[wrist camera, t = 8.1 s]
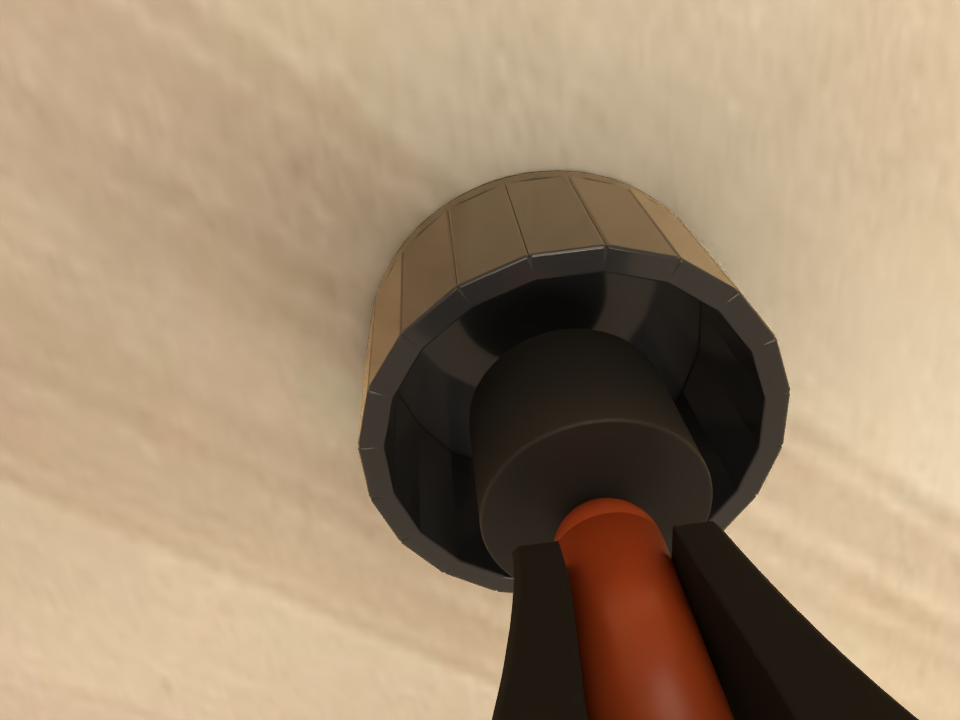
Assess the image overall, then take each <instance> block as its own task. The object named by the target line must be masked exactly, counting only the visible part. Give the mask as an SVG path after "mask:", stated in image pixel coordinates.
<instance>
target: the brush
mask: <svg viewBox="0 0 960 720" xmlns="http://www.w3.org/2000/svg"><path fill="white" fill-rule="evenodd" d="M469 428H470V437H471V447H472V456H473V465H474V475H475V484H476V494H477V503H478V513H479V522H480V529H481V534H482V538H483V541H484V543H485V546H486V548H487V550H488V551H489V553H490V555H491V556H492V558H493V559H494V560H495V561H496V563H497V564H498V565H499V566H500V567H501V568H502V569H503V570H504V571H505V572H507V573H508V574H509V575H510V576H512V577H513V578H514V567H513V558H512V552H513V551H514V550H515V549H516V548H517V547H518V546H524V545H531V544H539V543H547V542H554V541H559V544H560V547H561V551H562V554H563V557H564V561H565V564H566V568H567V571H568V575H569V579H570V585H571V592H572V600H573V608H574V616H575V624H576V632H577V640H578V648H579V656H580V664H581V672H582V681H583V689H584V697H585V705H586V710H587V716H588V720H735V719H734V717H733V714H732V712H731V709H730V707H729V704H728V701H727V699H726V696H725V694H724V691H723V689H722V686H721V684H720V681H719V678H718V676H717V673H716V671H715V668H714V666H713V663H712V661H711V658H710V655H709V653H708V650H707V648H706V645H705V643H704V640H703V638H702V635H701V632H700V630H699V627H698V625H697V622H696V620H695V617H694V615H693V612H692V610H691V607H690V605H689V602H688V600H687V597H686V595H685V592H684V589H683V587H682V584H681V582H680V579H679V577H678V574H677V572H676V569H675V566H674V564H673V561H672V559H671V556H672V533H673V526H677V525H685V524H693V523H700V522H707V520H708V517H709V514H710V511H711V505H712V482H711V476H710V473H709V471H708V468H707V465H706V463H705V461H704V459H703V457H702V455H701V454H700V452H699V450H698V448H697V446H696V444H695V442H694V440H693V438H692V436H691V434H690V432H689V430H688V428H687V427H686V425H685V423H684V421H683V419H682V417H681V415H680V413H679V411H678V409H677V407H676V405H675V403H674V401H673V399H672V398H671V396H670V394H669V392H668V390H667V388H666V386H665V384H664V382H663V380H662V378H661V376H660V374H659V372H658V371H657V369H656V367H655V366H654V364H653V363H652V361H651V360H650V359H649V358H648V357H647V356H646V354H644V353H643V352H642V351H641V350H640V349H639V348H638V347H636V346H635V345H633V344H631V343H630V342H628V341H627V340H624V339H622V338H620V337H618V336H616V335H612V334H609V333H606V332H603V331H597V330H591V329H564V330H558V331H552V332H548V333H544V334H541V335H538V336H535V337H533V338H530V339H528V340H526V341H523V342H522V343H520V344H518V345H517V346H515V347H513V348H511V349H510V350H509V351H507V352H506V353H505V354H503V355H502V356H501V357H500V358H499V359H498V360H497V361H496V362H495V363H493V364H492V366H491V367H490V368H489V369H488V371H487V372H486V373H485V374H484V376H483V377H482V379H481V381H480V382H479V384H478V385H477V388H476V390H475V392H474V395H473V398H472V401H471V405H470V412H469Z"/></svg>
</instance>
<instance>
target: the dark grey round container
mask: <svg viewBox="0 0 960 720" xmlns="http://www.w3.org/2000/svg"><path fill="white" fill-rule="evenodd" d="M564 329H591V330H597V331H603V332H606V333H609V334H612V335H616V336H618V337H620V338H622V339H624V340H627V341H628V342H630V343H631V344H633V345H635V346H636V347H638V348H639V349H640V350H641V351H642V352H643V353H644V354H646V356H647V357H648V358H649V359H650V360H651V361H652V363H653V364H654V366H655V367H656V369H657V371H658V372H659V374H660V376H661V378H662V380H663V382H664V384H665V386H666V388H667V390H668V392H669V394H670V396H671V398H672V399H673V401H674V403H675V405H676V407H677V409H678V411H679V413H680V415H681V417H682V419H683V421H684V423H685V425H686V427H687V428H688V430H689V432H690V434H691V436H692V438H693V440H694V442H695V444H696V446H697V448H698V450H699V452H700V454H701V455H702V457H703V459H704V461H705V463H706V465H707V468H708V471H709V473H710V476H711V482H712V505H711V511H710V514H709V517H708V520H707V522H708V521H713V522H715V523H716V524H717V525H719V526H720V527H721V529H722V530H723V531H724V530H725V529H726V528H727V527H728V526H729V525H730V524H731V522H732V521H733V520H734V519H735V518H736V517H737V516H738V515H739V514H740V513H741V512H742V511H743V510H744V509H745V508H746V507H747V506H748V505H749V504H750V503H751V501H752V500H753V499H754V498H755V497H756V495H757V494H758V493H759V491H760V489H761V487H762V485H763V483H764V481H765V479H766V477H767V475H768V474H769V472H770V470H771V468H772V466H773V464H774V462H775V460H776V458H777V456H778V454H779V452H780V450H781V448H782V446H781V445H782V444H783V440H784V433H785V426H786V418H787V411H788V404H789V396H790V393H789V391H790V387H789V384H788V380H787V376H786V372H785V368H784V365H783V361H782V357H781V353H780V349H779V346H778V342H777V339H776V338H775V335H774V334H773V332H772V331H771V330H770V328H769V327H768V326H767V325H766V323H765V322H764V321H763V320H762V318H761V317H760V316H759V315H758V313H757V312H756V311H755V310H754V308H753V307H752V306H751V305H750V303H749V302H748V301H747V300H746V298H745V297H744V296H743V295H742V293H741V292H740V291H739V290H738V288H737V287H736V286H735V285H734V284H733V282H732V281H731V280H730V279H729V278H728V277H727V275H726V274H725V273H724V272H723V271H722V269H721V268H720V267H719V266H718V265H717V263H716V262H715V261H714V260H713V259H712V257H711V256H710V255H709V254H708V253H707V251H706V250H705V249H704V248H703V247H702V246H701V244H700V243H699V242H698V241H697V240H696V238H695V237H694V236H693V235H692V234H691V232H690V231H689V230H688V229H687V228H686V226H685V225H684V224H683V223H682V222H681V221H680V219H679V218H678V217H676V216H675V215H674V214H673V213H671V212H670V211H669V210H668V209H667V208H665V207H664V206H663V205H661V204H660V203H659V202H657V201H656V200H655V199H653V198H652V197H651V196H649V195H647V194H645V193H643V192H641V191H639V190H637V189H636V188H634V187H632V186H630V185H627V184H624V183H622V182H619V181H616V180H613V179H610V178H608V177H603V176H598V175H593V174H588V173H584V172H570V171H544V172H531V173H526V174H521V175H516V176H510V177H506V178H503V179H500V180H497V181H494V182H491V183H488V184H485V185H482V186H480V187H478V188H476V189H474V190H472V191H469V192H467V193H465V194H463V195H461V196H459V197H458V198H456V199H455V200H453V201H451V202H450V203H448V204H447V205H445V206H444V207H442V208H440V209H439V210H438V211H437V212H435V213H434V214H433V215H432V216H431V217H429V218H428V219H427V220H426V221H425V222H423V223H422V224H421V225H420V226H419V227H418V228H417V229H416V230H415V232H414V233H413V234H412V235H411V236H410V237H409V238H408V239H407V240H406V241H405V242H404V244H403V245H402V247H401V248H400V250H399V251H398V253H397V254H396V255H395V257H394V258H393V260H392V261H391V263H390V265H389V267H388V269H387V271H386V273H385V275H384V277H383V279H382V281H381V284H380V287H379V290H378V293H377V296H376V299H375V302H374V307H373V313H372V319H371V326H370V334H369V340H368V346H367V356H366V366H365V376H364V387H363V397H362V407H361V418H360V428H359V438H358V445H359V446H358V450H359V454H360V458H361V463H362V467H363V471H364V475H365V480H366V484H367V488H368V492H369V496H370V498H371V501H372V502H373V504H374V505H375V506H376V508H377V509H378V511H379V512H380V513H381V515H382V516H383V518H384V519H385V521H386V522H387V523H388V525H389V526H390V528H391V529H392V531H393V532H394V533H395V535H396V536H397V538H398V539H399V540H400V541H401V542H402V544H404V545H405V546H406V547H408V548H409V549H411V550H412V551H413V552H415V553H416V554H418V555H419V556H420V557H422V558H423V559H425V560H426V561H427V562H429V563H430V564H432V565H433V566H434V567H436V568H437V569H439V570H440V571H441V572H445V573H446V574H448V575H451V576H453V577H456V578H459V579H462V580H465V581H468V582H471V583H474V584H476V585H479V586H482V587H485V588H488V589H491V590H494V591H496V590H497V591H498V592H506V593H513V588H514V578H513V577H512V576H510V575H509V574H508V573H507V572H505V571H504V570H503V569H502V568H501V567H500V566H499V565H498V564H497V563H496V561H495V560H494V559H493V558H492V556H491V555H490V553H489V551H488V550H487V548H486V546H485V543H484V541H483V538H482V534H481V529H480V522H479V513H478V503H477V494H476V484H475V475H474V465H473V456H472V447H471V437H470V428H469V412H470V405H471V401H472V398H473V395H474V392H475V390H476V388H477V385H478V384H479V382H480V381H481V379H482V377H483V376H484V374H485V373H486V372H487V371H488V369H489V368H490V367H491V366H492V364H493V363H495V362H496V361H497V360H498V359H499V358H500V357H501V356H502V355H503V354H505V353H506V352H507V351H509V350H510V349H511V348H513V347H515V346H517V345H518V344H520V343H522V342H523V341H526V340H528V339H530V338H533V337H535V336H538V335H541V334H544V333H548V332H552V331H558V330H564Z"/></svg>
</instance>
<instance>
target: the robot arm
mask: <svg viewBox="0 0 960 720" xmlns="http://www.w3.org/2000/svg"><path fill="white" fill-rule="evenodd" d="M512 558H513V567H514V588H513V604H512V613H511V623H510V630H509V637H508V643H507V649H506V655H505V661H504V667H503V673H502V678H501V683H500V687H499V691H498V696H497V700H496V705H495V709H494V713H493V718H492V720H588V716H587V710H586V705H585V697H584V689H583V681H582V672H581V664H580V656H579V648H578V640H577V632H576V624H575V616H574V608H573V600H572V592H571V585H570V579H569V575H568V571H567V568H566V564H565V561H564V557H563V554H562V551H561V547H560V544H559V541H554V542H547V543H539V544H531V545H524V546H518V547H517V548H516V549H515V550H514V551H513V552H512ZM671 559H672V561H673V564H674V566H675V569H676V572H677V574H678V577H679V579H680V582H681V584H682V587H683V589H684V592H685V595H686V597H687V600H688V602H689V605H690V607H691V610H692V612H693V615H694V617H695V620H696V622H697V625H698V627H699V630H700V632H701V635H702V638H703V640H704V643H705V645H706V648H707V650H708V653H709V655H710V658H711V661H712V663H713V666H714V668H715V671H716V673H717V676H718V678H719V681H720V684H721V686H722V689H723V691H724V694H725V696H726V699H727V701H728V704H729V707H730V709H731V712H732V714H733V717H734V719H735V720H918V719H917V718H916V717H915V716H914V715H912V714H911V713H910V712H909V711H907V710H906V709H905V708H904V707H903V706H901V705H900V704H899V703H898V702H897V701H895V700H894V699H893V698H892V697H891V696H890V695H888V694H887V693H886V692H885V691H884V690H883V689H881V688H880V687H879V686H878V685H877V684H876V683H875V682H873V681H872V680H871V679H870V678H869V677H868V676H867V675H866V674H865V673H863V672H862V671H861V670H860V669H859V668H858V667H857V666H856V665H854V664H853V663H852V662H851V661H850V660H849V659H848V658H847V657H846V656H845V655H843V654H842V653H841V652H840V651H839V650H838V649H837V648H836V647H835V646H834V645H833V644H832V643H831V642H830V641H828V640H827V639H826V638H825V637H824V636H823V635H822V634H821V633H820V632H819V631H818V630H817V629H816V628H815V627H814V626H813V625H812V624H811V623H810V622H809V621H808V620H807V619H806V618H805V617H804V616H803V615H802V614H801V613H800V612H799V611H798V610H797V609H796V608H795V607H794V606H793V605H792V604H791V603H790V602H789V601H788V600H787V599H786V598H785V597H784V596H783V595H782V594H781V593H780V592H779V591H778V590H777V589H776V588H775V587H774V586H773V585H772V584H771V582H770V581H769V580H768V579H767V578H766V577H765V576H764V575H763V574H762V573H761V572H760V571H759V570H758V569H757V568H756V567H755V565H754V564H753V563H752V562H751V561H750V560H749V559H748V558H747V557H746V556H745V554H744V553H743V552H742V551H741V550H740V549H739V548H738V547H737V546H736V544H735V543H734V542H733V541H732V540H731V539H730V538H729V537H728V535H727V534H726V533H725V532H724V531H723V530H722V529H721V527H720V526H719V525H717V524H716V523H715V522H713V521H708V522H700V523H693V524H685V525H677V526H673V533H672V556H671Z"/></svg>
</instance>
